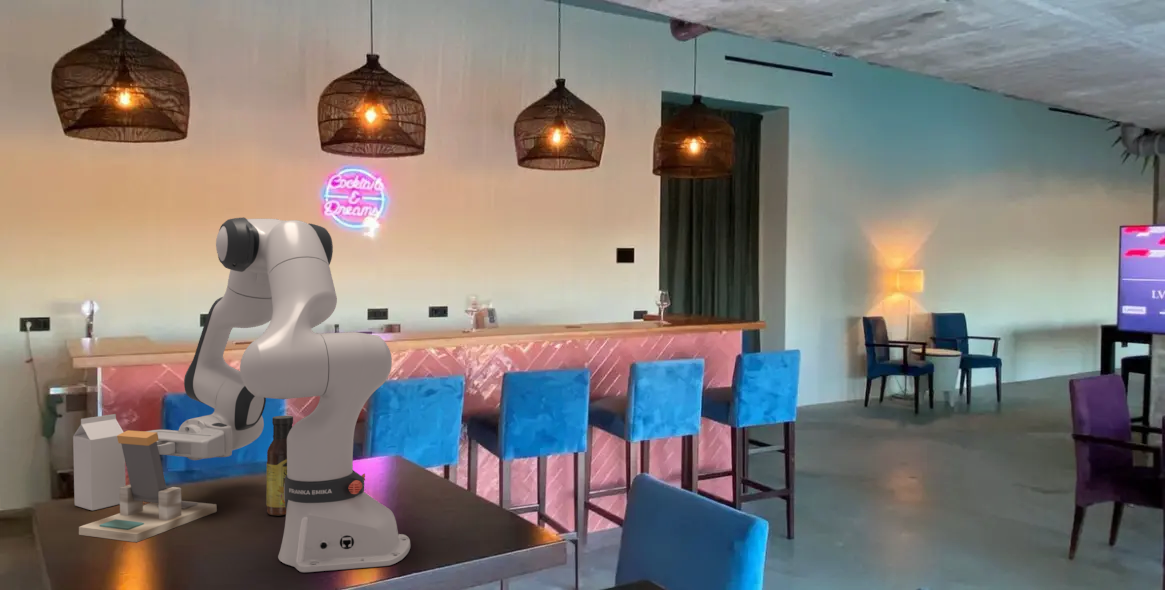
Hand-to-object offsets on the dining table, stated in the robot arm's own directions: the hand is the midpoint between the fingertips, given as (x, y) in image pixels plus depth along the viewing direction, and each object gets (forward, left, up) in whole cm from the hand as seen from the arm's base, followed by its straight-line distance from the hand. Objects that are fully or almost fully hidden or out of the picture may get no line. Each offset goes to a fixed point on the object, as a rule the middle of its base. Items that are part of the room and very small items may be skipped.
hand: (145, 451), depth 161 cm
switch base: (0, -1, -14) cm, 14 cm away
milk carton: (+17, -14, -15) cm, 26 cm away
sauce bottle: (-24, -7, -15) cm, 29 cm away
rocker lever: (0, -1, -9) cm, 9 cm away
